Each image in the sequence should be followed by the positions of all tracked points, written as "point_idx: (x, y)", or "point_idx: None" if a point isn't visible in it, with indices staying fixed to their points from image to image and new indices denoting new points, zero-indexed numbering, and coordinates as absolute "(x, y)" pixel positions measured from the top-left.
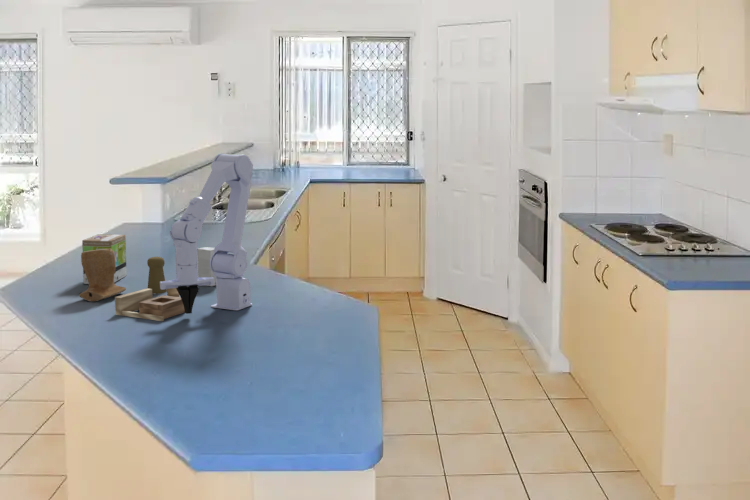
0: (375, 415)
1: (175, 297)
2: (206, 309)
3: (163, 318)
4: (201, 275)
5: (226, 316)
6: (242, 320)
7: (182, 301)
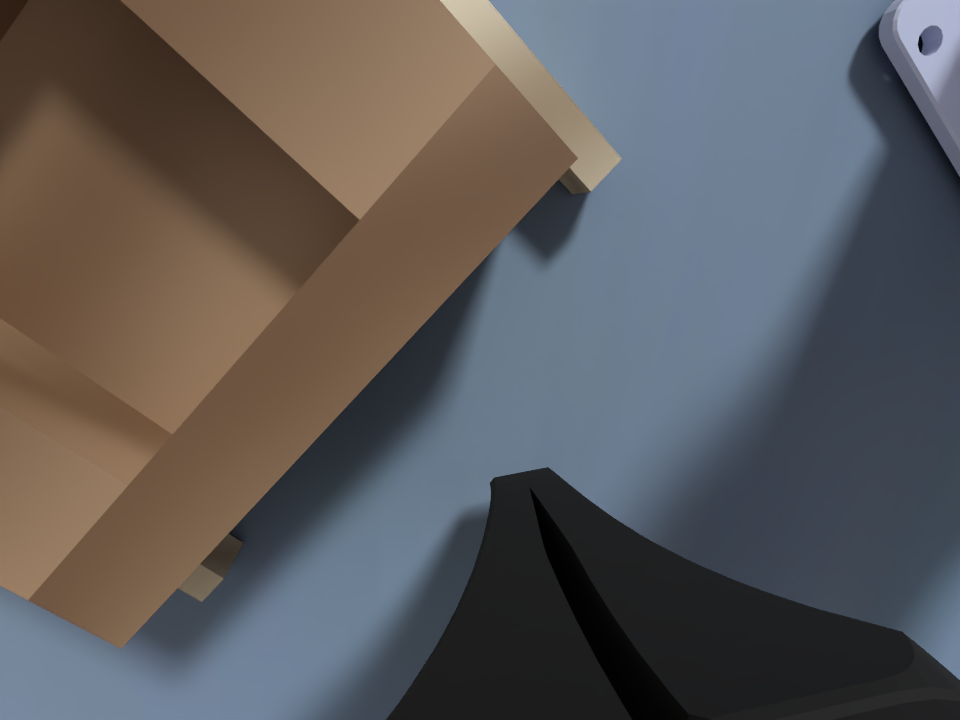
0: None
1: (359, 12)
2: (790, 117)
3: (230, 564)
4: None
5: (869, 505)
6: (928, 652)
7: (478, 567)
